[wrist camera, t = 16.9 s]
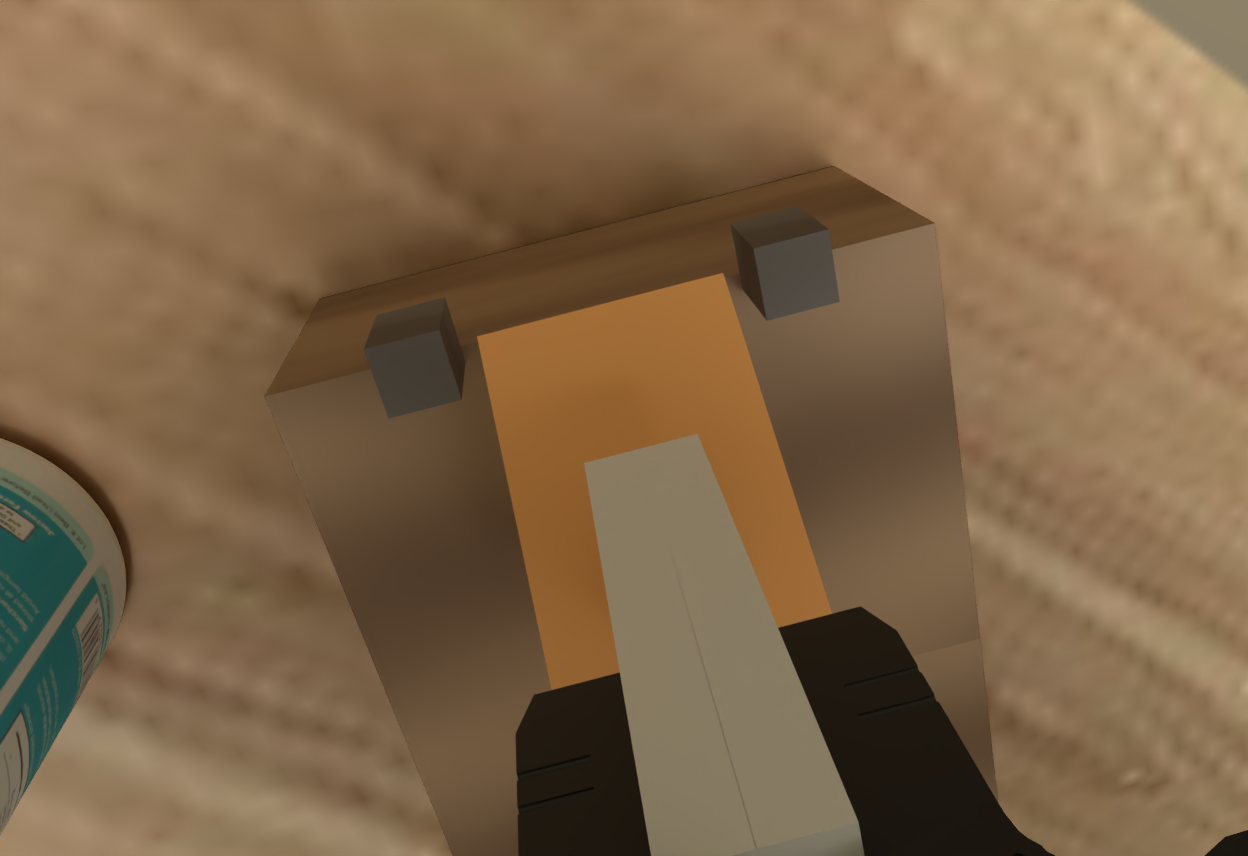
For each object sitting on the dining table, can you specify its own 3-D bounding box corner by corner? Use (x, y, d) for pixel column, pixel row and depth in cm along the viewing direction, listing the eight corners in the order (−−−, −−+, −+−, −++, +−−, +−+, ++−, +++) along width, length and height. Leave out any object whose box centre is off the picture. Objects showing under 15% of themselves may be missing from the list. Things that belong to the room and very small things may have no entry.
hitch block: (914, 712, 30) (1042, 940, 23) (511, 817, 30) (515, 1078, 23) (828, 126, 23) (972, 191, 16) (305, 260, 23) (218, 386, 16)
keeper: (492, 367, 17) (476, 336, 16) (722, 308, 18) (723, 272, 16) (570, 727, 15) (557, 719, 14) (833, 658, 15) (842, 645, 14)
